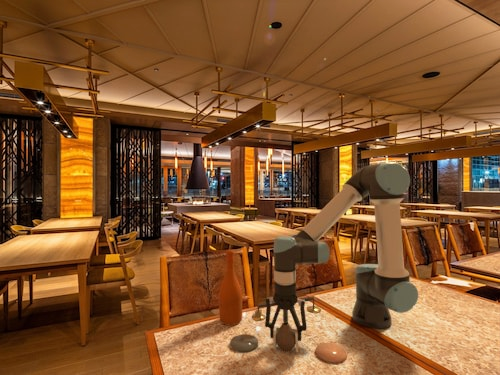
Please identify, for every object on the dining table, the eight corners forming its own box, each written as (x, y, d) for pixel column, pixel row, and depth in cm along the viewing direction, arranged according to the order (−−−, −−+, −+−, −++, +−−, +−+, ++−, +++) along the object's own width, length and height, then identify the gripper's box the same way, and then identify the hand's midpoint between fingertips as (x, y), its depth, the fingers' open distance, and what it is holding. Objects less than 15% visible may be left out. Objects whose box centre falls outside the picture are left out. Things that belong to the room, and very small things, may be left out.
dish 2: (345, 347, 97) (345, 344, 97) (348, 364, 87) (348, 361, 87) (315, 344, 99) (315, 341, 99) (315, 360, 89) (315, 357, 90)
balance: (321, 335, 105) (320, 294, 105) (321, 342, 100) (320, 300, 100) (253, 328, 111) (252, 290, 111) (250, 335, 106) (250, 295, 106)
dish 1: (260, 338, 104) (260, 335, 104) (255, 353, 94) (255, 350, 94) (234, 335, 106) (234, 333, 106) (226, 350, 96) (226, 347, 96)
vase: (295, 355, 93) (295, 329, 93) (274, 353, 94) (274, 327, 94) (296, 344, 99) (295, 319, 99) (277, 342, 101) (276, 318, 101)
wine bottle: (245, 317, 121) (244, 248, 122) (237, 327, 112) (236, 253, 112) (225, 314, 125) (224, 247, 125) (215, 324, 115) (214, 251, 116)
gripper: (314, 280, 98) (315, 345, 98) (259, 276, 103) (260, 339, 102) (314, 287, 91) (315, 358, 91) (255, 283, 95) (255, 351, 95)
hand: (286, 348), depth 97 cm, fingers closed on vase, 7 cm apart
